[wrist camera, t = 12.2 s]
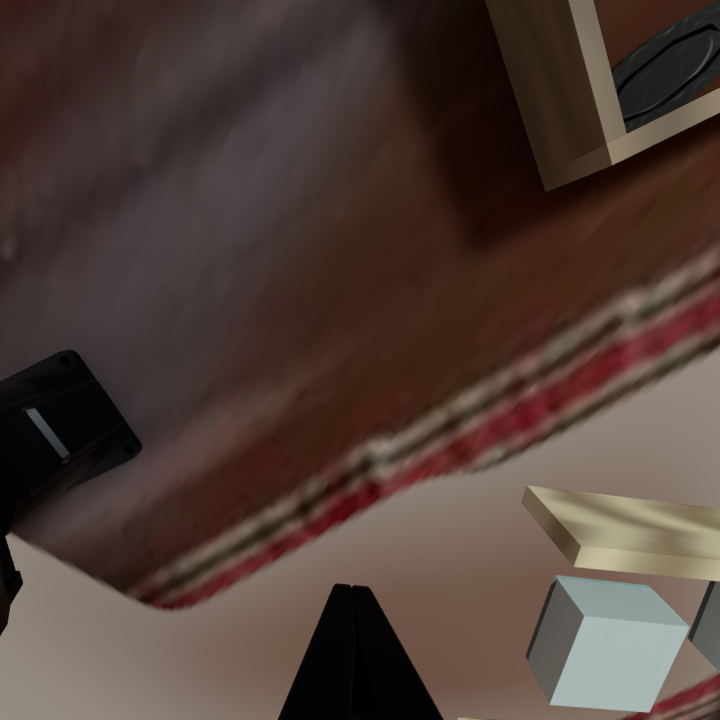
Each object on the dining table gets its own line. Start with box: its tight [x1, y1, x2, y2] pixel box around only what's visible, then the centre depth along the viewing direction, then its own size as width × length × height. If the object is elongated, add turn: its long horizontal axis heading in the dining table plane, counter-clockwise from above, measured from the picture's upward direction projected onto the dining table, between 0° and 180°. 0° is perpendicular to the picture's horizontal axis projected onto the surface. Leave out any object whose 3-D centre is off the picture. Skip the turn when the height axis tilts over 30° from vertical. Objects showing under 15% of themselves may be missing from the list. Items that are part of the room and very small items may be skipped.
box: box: [457, 486, 720, 720], centre depth 23 cm, size 24×20×5 cm
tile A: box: [525, 575, 690, 712], centre depth 24 cm, size 7×7×3 cm
